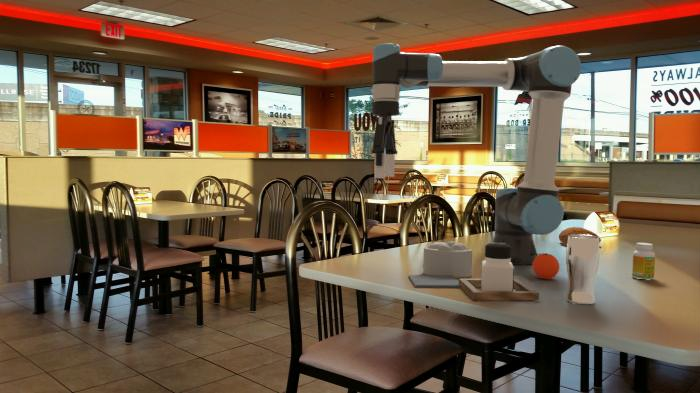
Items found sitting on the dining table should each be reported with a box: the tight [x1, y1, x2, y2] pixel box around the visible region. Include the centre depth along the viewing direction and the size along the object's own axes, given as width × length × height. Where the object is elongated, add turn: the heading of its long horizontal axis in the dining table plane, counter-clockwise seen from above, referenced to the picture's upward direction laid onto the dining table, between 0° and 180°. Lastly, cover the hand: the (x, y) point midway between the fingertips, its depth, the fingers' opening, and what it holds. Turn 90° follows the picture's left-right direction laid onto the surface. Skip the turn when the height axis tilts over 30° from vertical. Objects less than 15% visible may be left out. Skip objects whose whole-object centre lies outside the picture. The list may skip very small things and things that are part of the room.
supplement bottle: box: [631, 242, 656, 280], centre depth 157 cm, size 5×5×10 cm
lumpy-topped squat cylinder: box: [422, 241, 473, 278], centre depth 160 cm, size 10×13×9 cm
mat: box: [408, 274, 462, 289], centre depth 148 cm, size 12×12×1 cm
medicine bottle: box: [480, 242, 515, 291], centre depth 137 cm, size 7×7×12 cm
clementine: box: [531, 252, 560, 280], centre depth 155 cm, size 8×7×7 cm
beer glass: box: [565, 235, 600, 305], centre depth 130 cm, size 7×7×15 cm
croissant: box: [558, 226, 601, 246], centre depth 218 cm, size 14×16×8 cm
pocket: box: [458, 278, 540, 301], centre depth 138 cm, size 15×15×2 cm
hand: (384, 177), depth 160 cm, fingers open, 13 cm apart
